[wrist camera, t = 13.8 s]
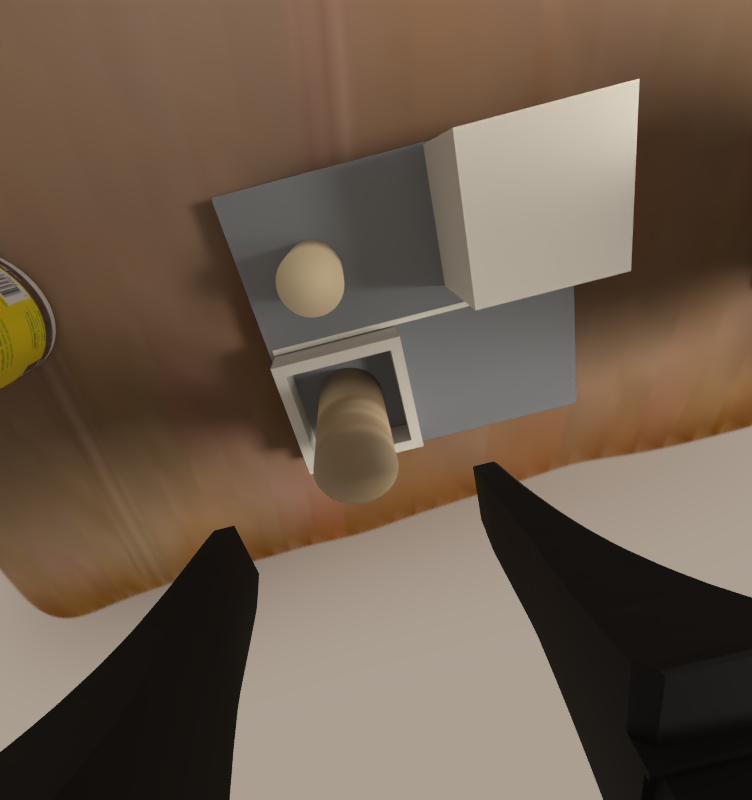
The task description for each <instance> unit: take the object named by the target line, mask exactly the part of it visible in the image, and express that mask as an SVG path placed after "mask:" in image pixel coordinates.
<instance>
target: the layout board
mask: <svg viewBox="0 0 752 800" xmlns="http://www.w3.org/2000/svg"><path fill="white" fill-rule="evenodd" d="M428 141H430V140H428ZM428 141H424V142H420V143H416V144H413V145H409V146H405V147H401V148H398V149H394V150H390V151H386V152H383V153H379V154H375V155H371V156H368V157H364V158H360V159H356V160H352V161H349V162H345V163H341V164H337V165H334V166H330V167H326V168H322V169H319V170H315V171H311V172H307V173H303V174H300V175H296V176H292V177H288V178H285V179H281V180H277V181H273V182H270V183H266V184H262V185H258V186H254V187H251V188H247V189H243V190H239V191H236V192H232V193H228V194H224V195H221V196H217V197H213V198H211V200H212V203H213V205H214V208H215V211H216V213H217V216H218V219H219V221H220V224H221V227H222V229H223V232H224V235H225V237H226V240H227V243H228V245H229V248H230V251H231V253H232V256H233V259H234V261H235V264H236V267H237V270H238V272H239V275H240V278H241V280H242V283H243V286H244V288H245V291H246V294H247V296H248V299H249V302H250V304H251V307H252V310H253V312H254V315H255V318H256V320H257V323H258V326H259V328H260V331H261V334H262V336H263V339H264V342H265V344H266V347H267V350H268V352H269V355H270V358H271V361H272V363H273V364H272V366H271V369H270V370H271V372H272V375H273V378H274V380H275V383H276V385H277V388H278V391H279V393H280V396H281V399H282V401H283V404H284V407H285V409H286V412H287V414H288V417H289V420H290V422H291V425H292V428H293V430H294V433H295V436H296V438H297V441H298V444H299V446H300V449H301V451H302V454H303V457H304V459H305V462H306V465H307V467H308V470H309V473H310V474H314V472H313V468H314V455H315V443H316V430H317V418H318V406H319V394H320V389H321V386H322V384H323V382H324V381H325V379H326V378H327V377H328V376H329V375H330V374H332V373H333V372H335V371H337V370H340V369H343V368H359V369H363V370H365V371H367V372H369V373H370V374H372V375H373V376H374V377H375V378H376V380H377V381H378V383H379V385H380V387H381V391H382V395H383V399H384V403H385V408H386V412H387V416H388V421H389V425H390V429H391V434H392V438H393V442H394V447H395V451H396V453H398V452H402V451H406V450H410V449H414V448H418V447H422V446H424V445H423V441H425V440H429V439H433V438H437V437H441V436H445V435H449V434H453V433H457V432H461V431H465V430H469V429H473V428H477V427H481V426H485V425H489V424H493V423H497V422H501V421H505V420H509V419H513V418H517V417H521V416H525V415H529V414H533V413H537V412H541V411H545V410H549V409H553V408H557V407H561V406H565V405H569V404H573V403H576V361H575V308H574V286H570V287H566V288H562V289H558V290H555V291H551V292H547V293H543V294H539V295H535V296H531V297H527V298H523V299H519V300H515V301H511V302H507V303H503V304H499V305H495V306H492V307H488V308H484V309H480V310H474V309H473V308H472V307H471V306H469V305H468V304H467V303H466V302H464V301H463V300H462V299H461V298H460V297H458V296H457V295H456V294H455V293H453V292H452V291H451V290H450V289H448V288H447V287H446V286H445V283H444V276H443V270H442V263H441V257H440V250H439V244H438V238H437V231H436V225H435V218H434V212H433V205H432V199H431V193H430V186H429V180H428V173H427V167H426V160H425V154H424V147H423V144H425V143H427V142H428Z"/></svg>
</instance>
